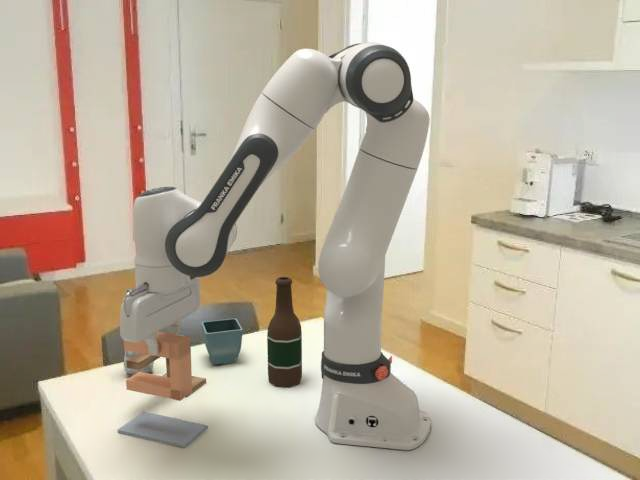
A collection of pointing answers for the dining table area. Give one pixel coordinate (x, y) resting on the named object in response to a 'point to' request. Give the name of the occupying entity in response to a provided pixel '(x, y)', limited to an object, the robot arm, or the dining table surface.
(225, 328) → the flower pot
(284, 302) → the beer bottle
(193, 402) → the dining table surface
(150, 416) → the felt mat
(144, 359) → the brown wooden angular piece
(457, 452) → the dining table surface
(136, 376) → the c link
